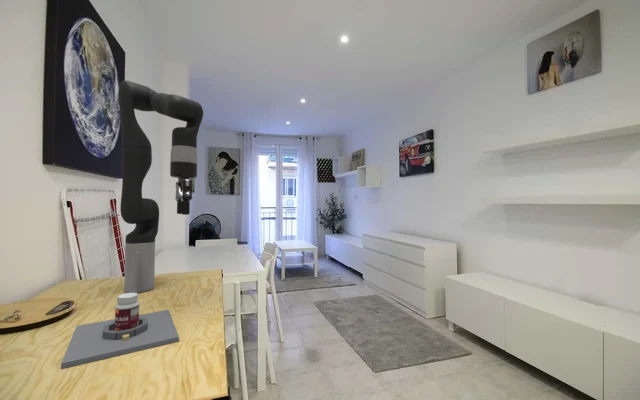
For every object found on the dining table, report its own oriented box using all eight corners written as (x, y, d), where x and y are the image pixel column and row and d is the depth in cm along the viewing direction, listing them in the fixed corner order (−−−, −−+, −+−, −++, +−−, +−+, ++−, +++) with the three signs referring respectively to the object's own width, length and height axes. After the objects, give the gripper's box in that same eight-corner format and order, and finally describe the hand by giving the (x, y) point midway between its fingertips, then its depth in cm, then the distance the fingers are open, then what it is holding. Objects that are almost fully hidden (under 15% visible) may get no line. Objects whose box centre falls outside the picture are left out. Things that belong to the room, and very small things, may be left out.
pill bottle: (109, 334, 65) (110, 297, 65) (125, 325, 70) (126, 291, 70) (127, 335, 65) (128, 298, 65) (143, 327, 69) (144, 292, 70)
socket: (76, 329, 70) (76, 319, 70) (168, 313, 81) (168, 304, 81) (60, 368, 53) (61, 355, 53) (178, 341, 64) (179, 330, 64)
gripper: (201, 160, 85) (200, 214, 84) (192, 165, 96) (191, 213, 96) (173, 157, 80) (172, 215, 80) (167, 163, 92) (166, 213, 92)
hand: (182, 214), depth 88 cm, fingers open, 8 cm apart
